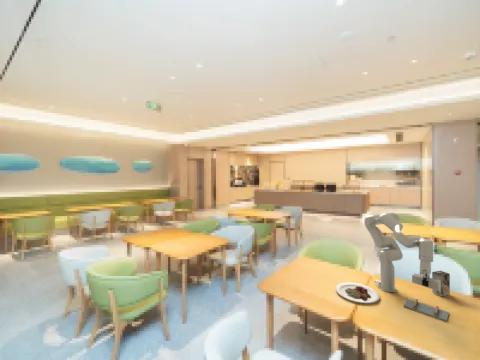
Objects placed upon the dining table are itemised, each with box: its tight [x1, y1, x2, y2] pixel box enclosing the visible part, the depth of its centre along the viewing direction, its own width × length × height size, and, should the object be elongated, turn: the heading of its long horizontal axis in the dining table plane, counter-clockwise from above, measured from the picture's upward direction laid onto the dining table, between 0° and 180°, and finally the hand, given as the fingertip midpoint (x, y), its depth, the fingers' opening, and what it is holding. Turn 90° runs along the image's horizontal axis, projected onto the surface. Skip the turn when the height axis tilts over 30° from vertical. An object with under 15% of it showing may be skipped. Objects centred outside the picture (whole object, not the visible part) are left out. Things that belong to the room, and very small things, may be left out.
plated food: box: [335, 281, 381, 304], centre depth 174 cm, size 30×30×3 cm
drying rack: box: [403, 298, 450, 323], centre depth 152 cm, size 22×12×3 cm, turn 42°
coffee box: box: [431, 270, 451, 297], centre depth 172 cm, size 9×6×16 cm
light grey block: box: [411, 273, 441, 291], centre depth 152 cm, size 14×5×5 cm, turn 34°
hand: (426, 284), depth 152 cm, fingers closed on light grey block, 5 cm apart
